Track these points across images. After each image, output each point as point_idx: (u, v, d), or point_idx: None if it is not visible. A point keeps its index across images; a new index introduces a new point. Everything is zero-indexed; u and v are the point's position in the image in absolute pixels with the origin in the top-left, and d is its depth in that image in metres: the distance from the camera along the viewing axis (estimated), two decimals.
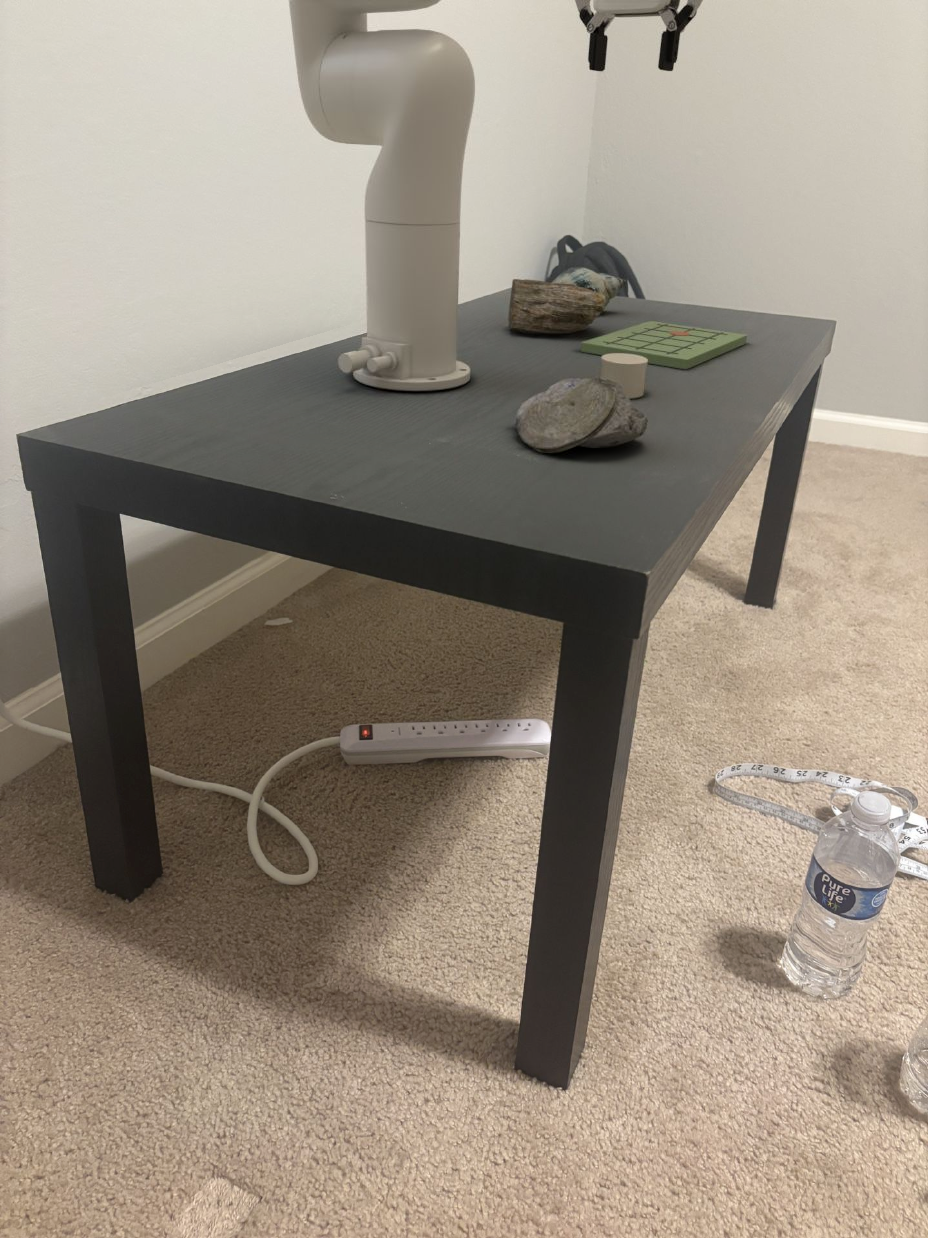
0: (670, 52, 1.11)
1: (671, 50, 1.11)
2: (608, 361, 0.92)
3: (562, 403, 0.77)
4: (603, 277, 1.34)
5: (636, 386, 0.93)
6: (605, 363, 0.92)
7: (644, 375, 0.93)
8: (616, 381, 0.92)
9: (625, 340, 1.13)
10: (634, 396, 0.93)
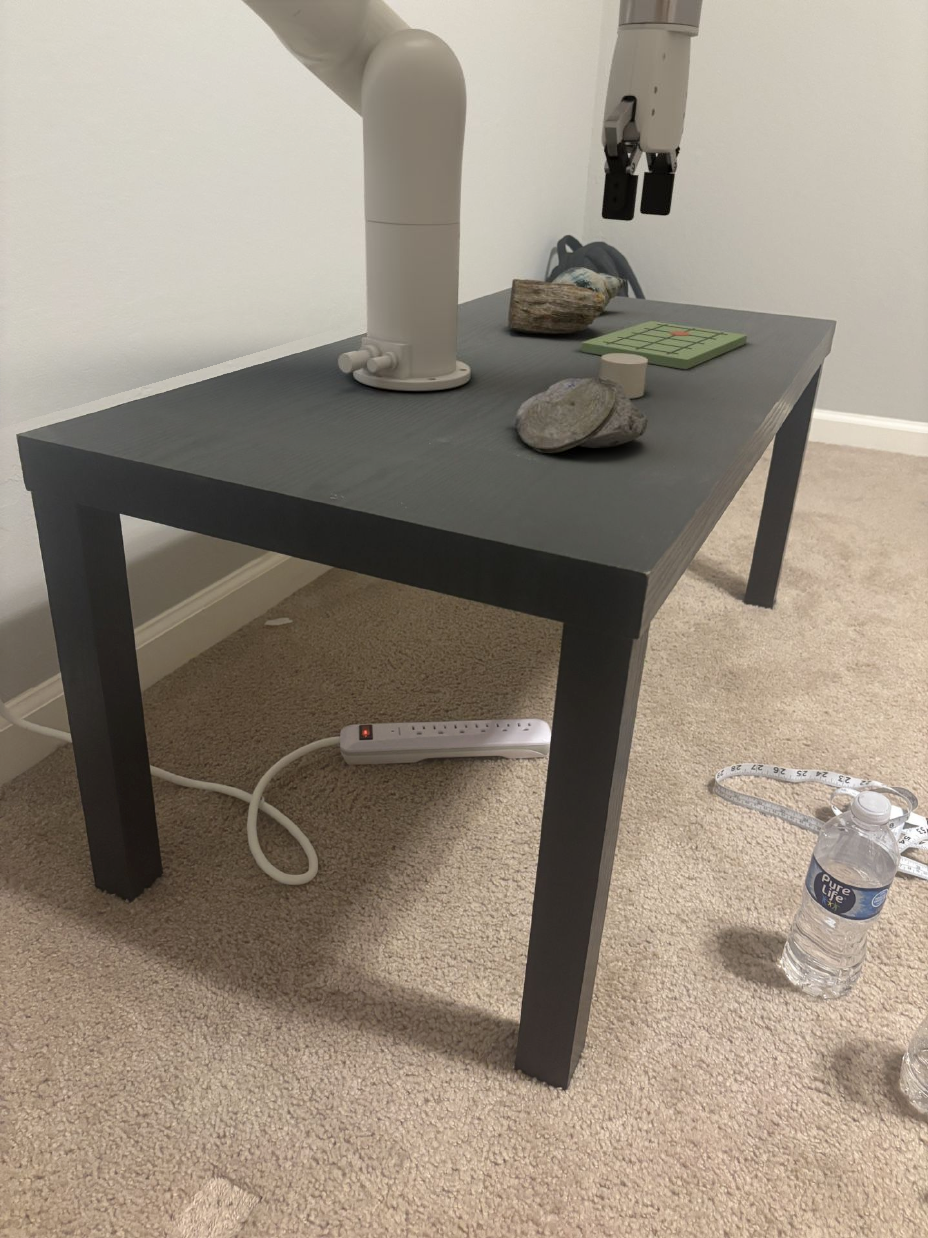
0: None
1: (608, 196, 0.87)
2: (608, 361, 0.92)
3: (562, 403, 0.77)
4: (603, 277, 1.34)
5: (636, 386, 0.93)
6: (605, 363, 0.92)
7: (644, 375, 0.93)
8: (616, 381, 0.92)
9: (625, 340, 1.13)
10: (634, 396, 0.93)
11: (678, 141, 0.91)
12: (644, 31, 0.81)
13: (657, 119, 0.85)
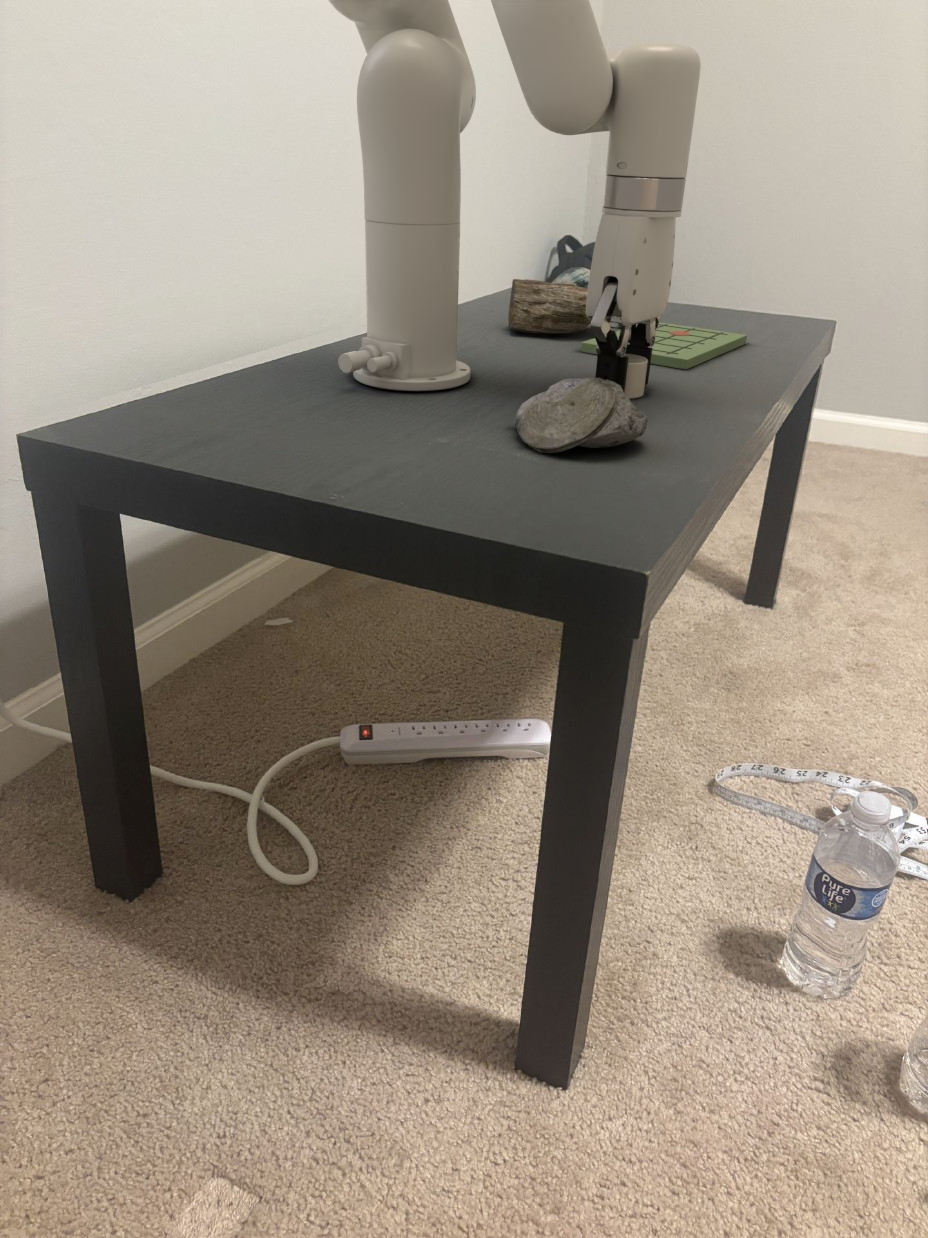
0: None
1: (600, 374, 0.92)
2: None
3: (562, 403, 0.77)
4: None
5: (636, 386, 0.93)
6: None
7: (644, 375, 0.93)
8: None
9: None
10: (634, 396, 0.93)
11: (664, 307, 0.93)
12: (625, 218, 0.83)
13: (639, 297, 0.87)
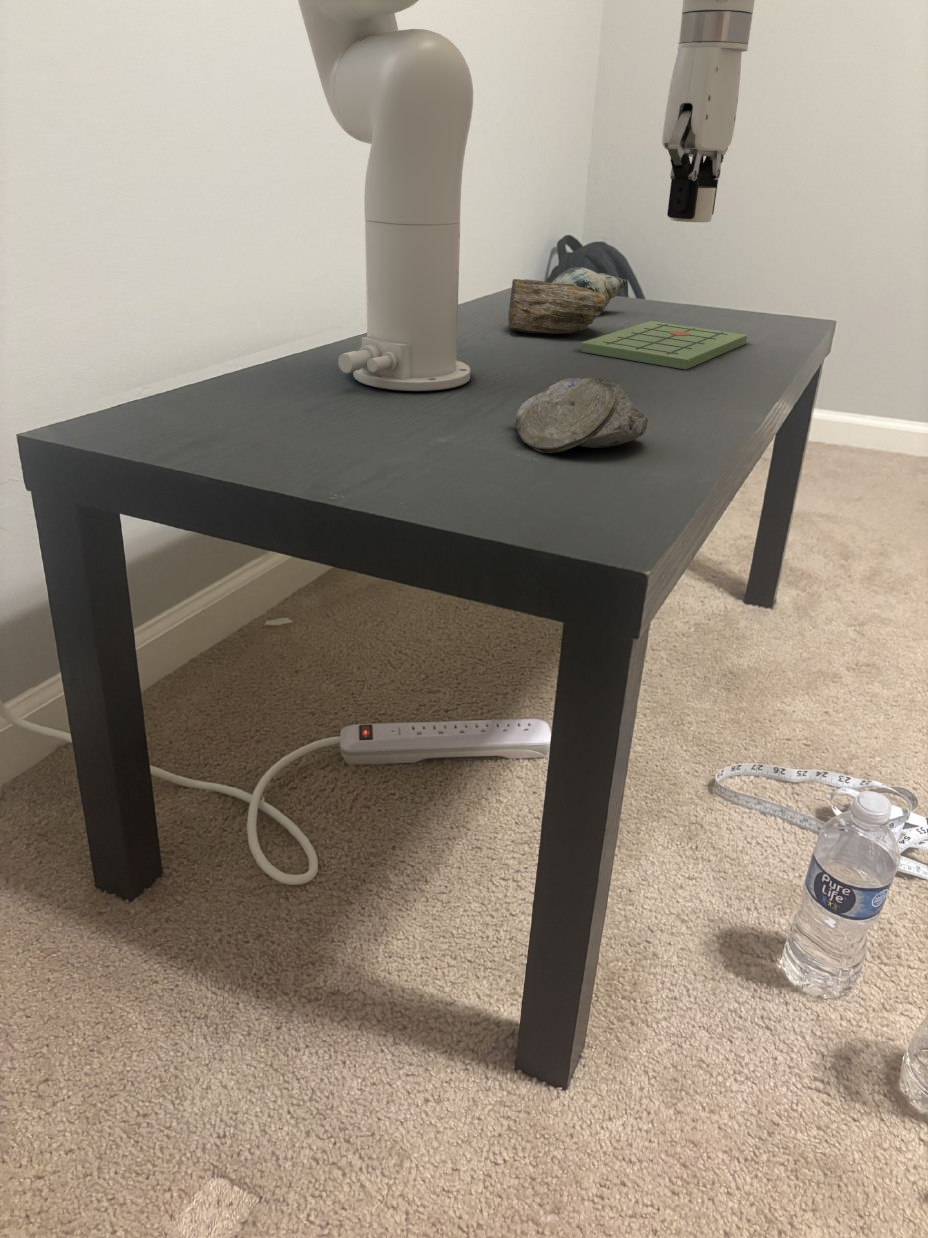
0: None
1: (673, 198, 1.04)
2: None
3: (562, 403, 0.77)
4: (603, 277, 1.34)
5: (705, 210, 1.05)
6: None
7: (712, 201, 1.05)
8: None
9: (625, 340, 1.13)
10: (703, 220, 1.06)
11: (729, 141, 1.05)
12: (700, 48, 0.96)
13: (710, 122, 0.99)
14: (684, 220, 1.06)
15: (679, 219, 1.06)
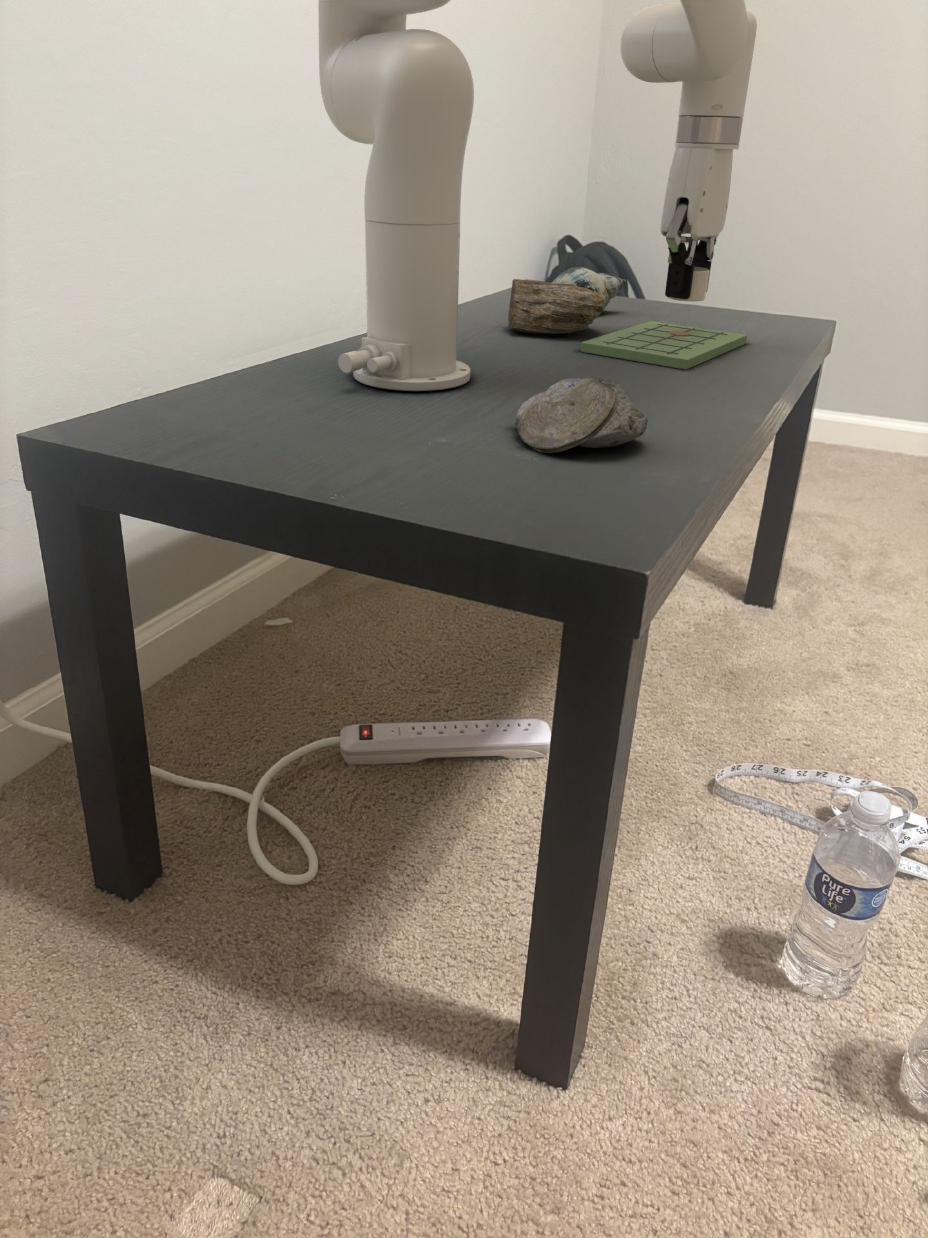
0: None
1: (670, 280, 1.13)
2: None
3: (562, 403, 0.77)
4: (603, 277, 1.34)
5: (700, 290, 1.14)
6: None
7: (706, 282, 1.14)
8: None
9: (625, 340, 1.13)
10: (698, 299, 1.14)
11: (722, 227, 1.14)
12: (695, 149, 1.05)
13: (705, 214, 1.08)
14: (680, 299, 1.14)
15: (676, 298, 1.15)
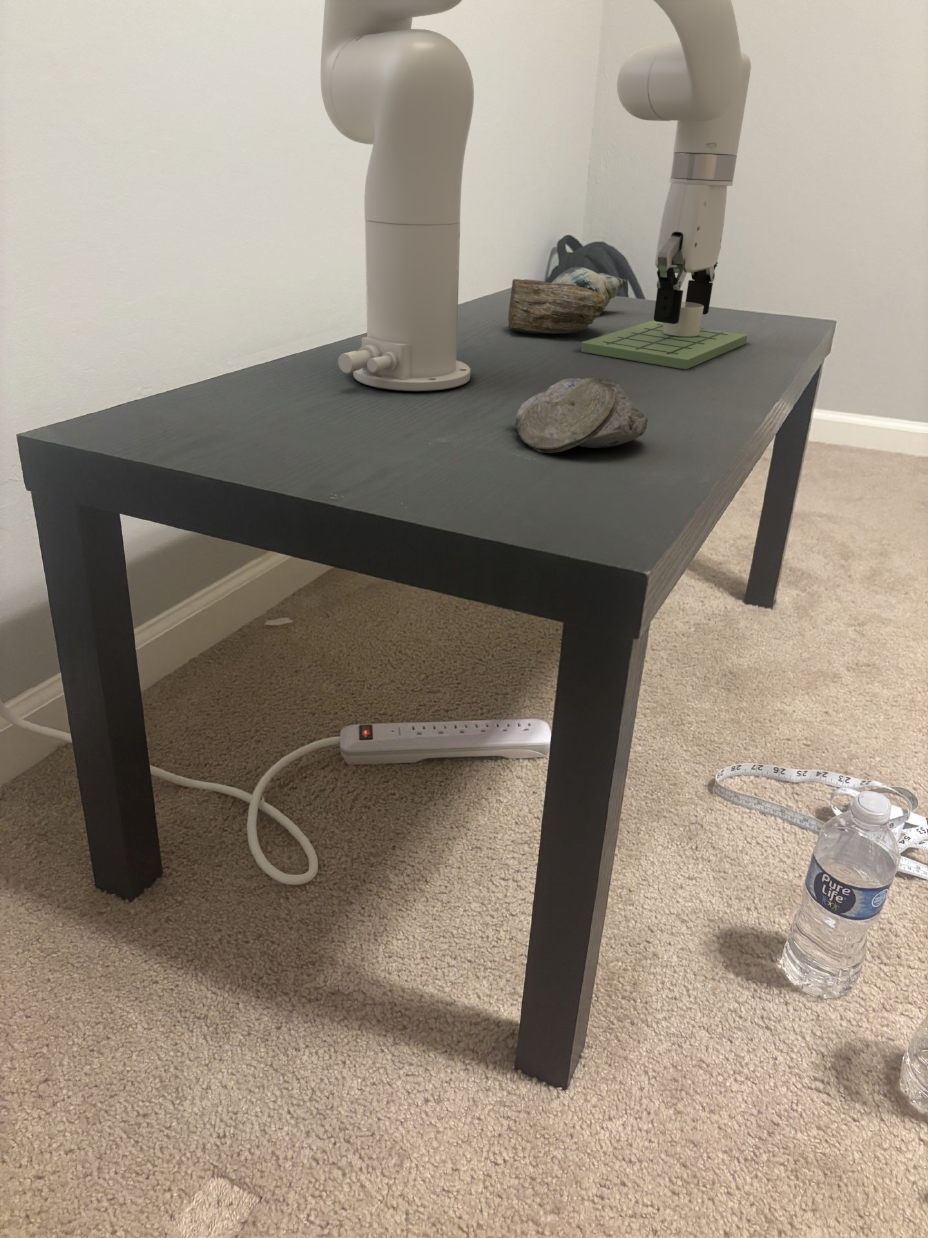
0: None
1: None
2: None
3: (562, 403, 0.77)
4: (603, 277, 1.34)
5: (694, 326, 1.16)
6: None
7: (701, 318, 1.16)
8: (679, 322, 1.16)
9: (625, 340, 1.13)
10: (692, 334, 1.16)
11: (715, 260, 1.16)
12: (690, 186, 1.07)
13: (699, 249, 1.10)
14: (675, 335, 1.16)
15: (671, 333, 1.17)
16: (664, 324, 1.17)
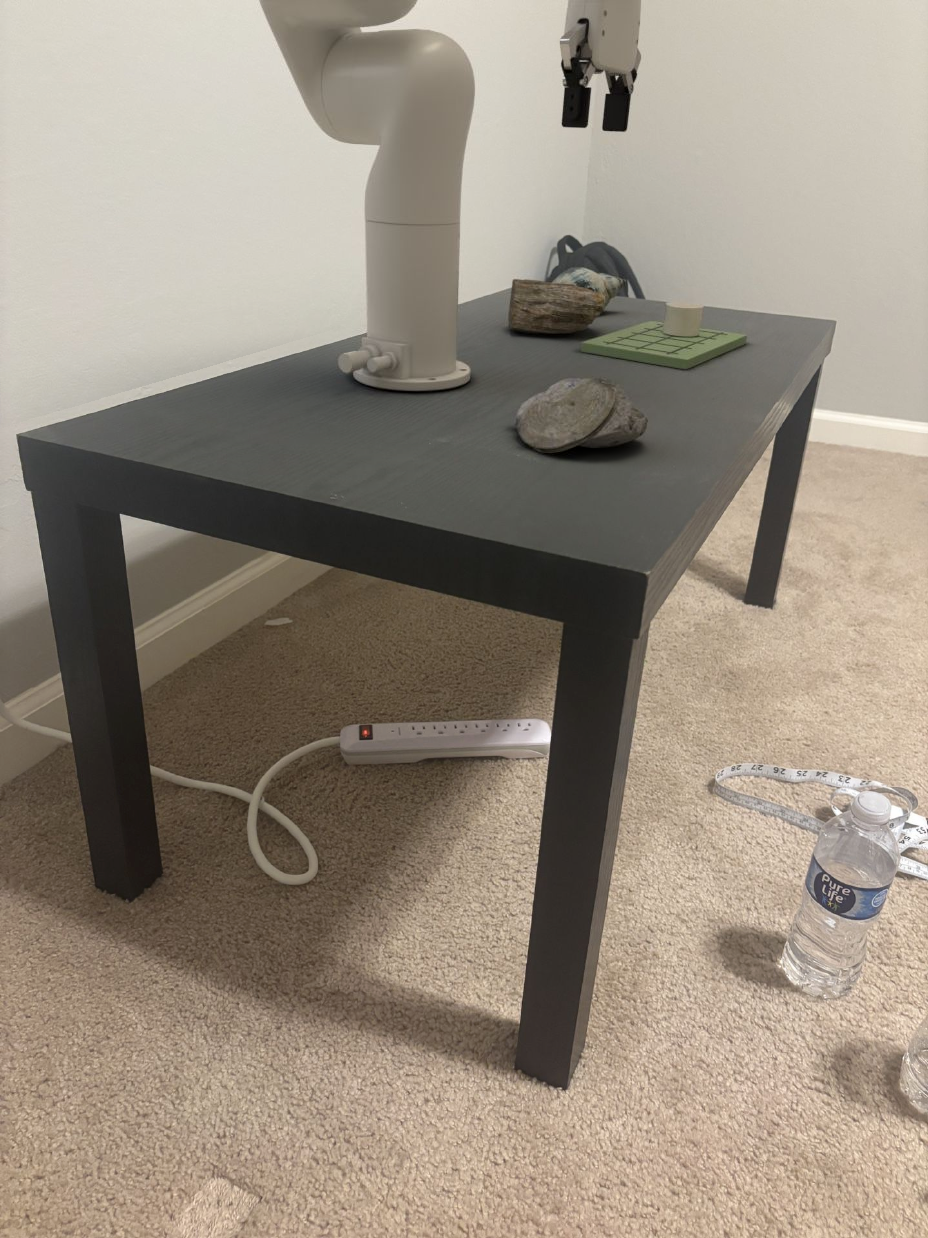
0: None
1: None
2: (672, 306, 1.15)
3: (562, 403, 0.77)
4: (603, 277, 1.34)
5: (694, 326, 1.16)
6: (670, 308, 1.16)
7: (701, 318, 1.16)
8: (679, 322, 1.16)
9: (625, 340, 1.13)
10: (692, 334, 1.16)
11: (632, 64, 1.06)
12: None
13: (607, 39, 1.00)
14: (675, 335, 1.16)
15: (671, 333, 1.17)
16: (664, 324, 1.17)
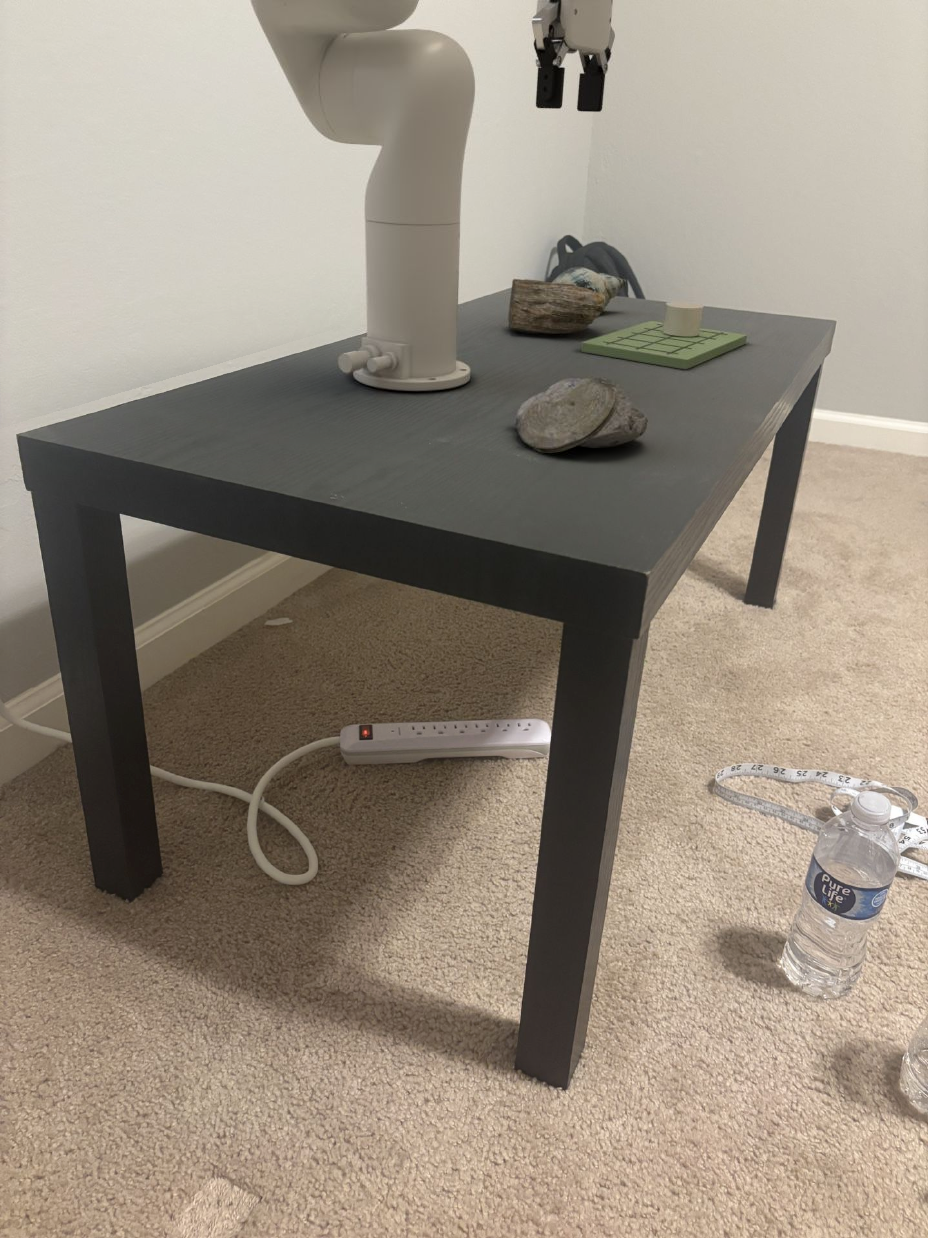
0: None
1: (540, 87, 1.02)
2: (672, 306, 1.15)
3: (562, 403, 0.77)
4: (603, 277, 1.34)
5: (694, 326, 1.16)
6: (670, 308, 1.16)
7: (701, 318, 1.16)
8: (679, 322, 1.16)
9: (625, 340, 1.13)
10: (692, 334, 1.16)
11: (605, 43, 1.05)
12: None
13: (580, 18, 0.99)
14: (675, 335, 1.16)
15: (671, 333, 1.17)
16: (664, 324, 1.17)
